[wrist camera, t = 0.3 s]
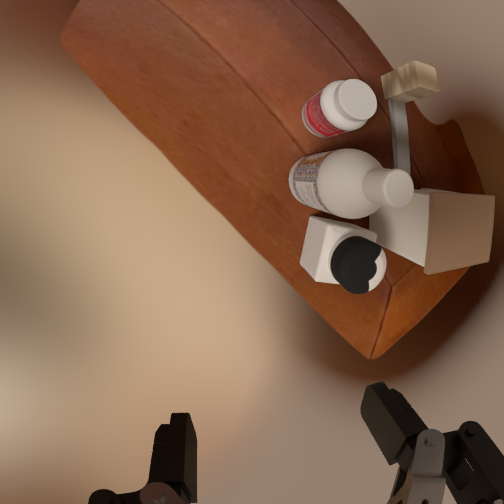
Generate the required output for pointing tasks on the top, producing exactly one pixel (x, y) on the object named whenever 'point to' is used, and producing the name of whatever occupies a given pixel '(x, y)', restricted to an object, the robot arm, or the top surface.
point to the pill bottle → (339, 108)
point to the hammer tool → (398, 93)
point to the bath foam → (349, 183)
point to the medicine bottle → (342, 255)
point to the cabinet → (438, 229)
